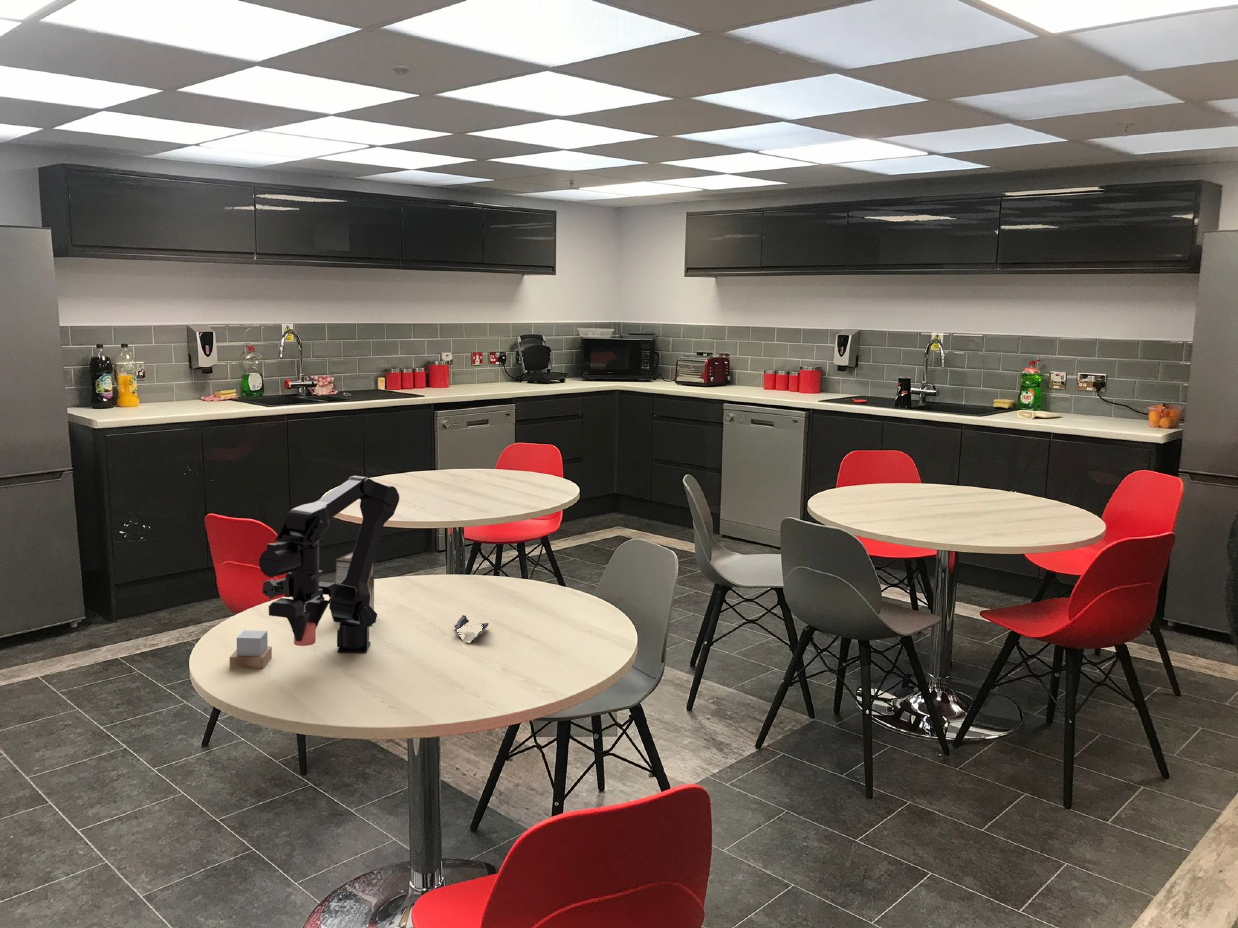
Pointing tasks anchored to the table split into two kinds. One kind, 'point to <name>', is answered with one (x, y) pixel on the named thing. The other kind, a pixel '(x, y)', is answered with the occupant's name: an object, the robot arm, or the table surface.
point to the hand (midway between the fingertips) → (304, 637)
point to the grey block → (252, 643)
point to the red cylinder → (307, 635)
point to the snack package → (464, 620)
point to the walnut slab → (250, 660)
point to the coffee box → (342, 570)
